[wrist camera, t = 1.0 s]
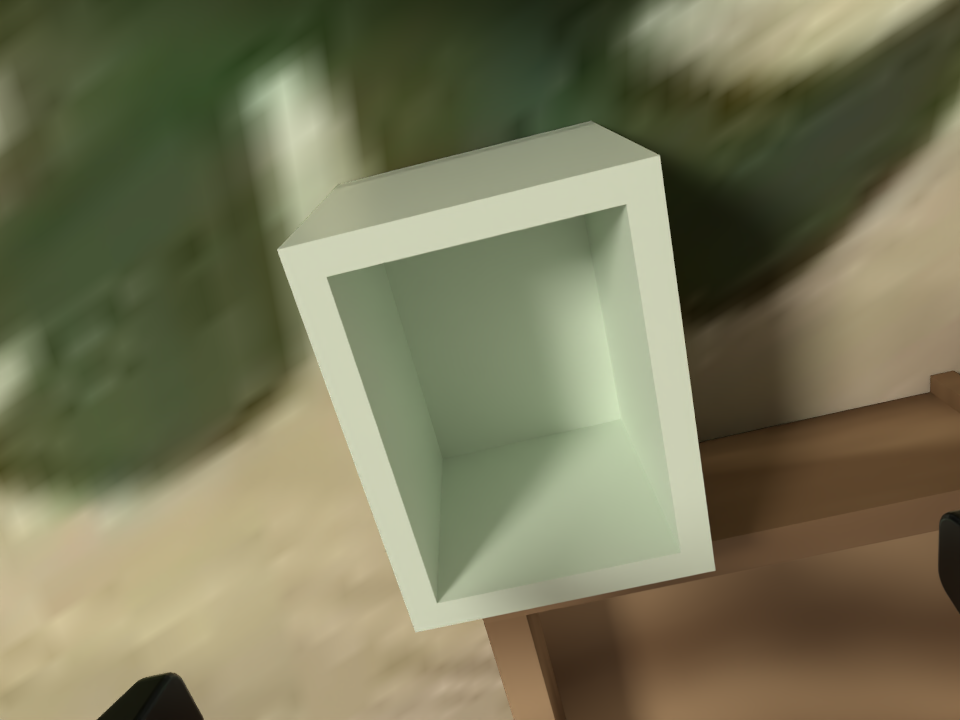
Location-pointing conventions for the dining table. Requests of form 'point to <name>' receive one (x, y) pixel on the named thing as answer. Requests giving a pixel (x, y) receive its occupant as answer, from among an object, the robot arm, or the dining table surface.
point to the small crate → (511, 371)
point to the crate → (776, 588)
